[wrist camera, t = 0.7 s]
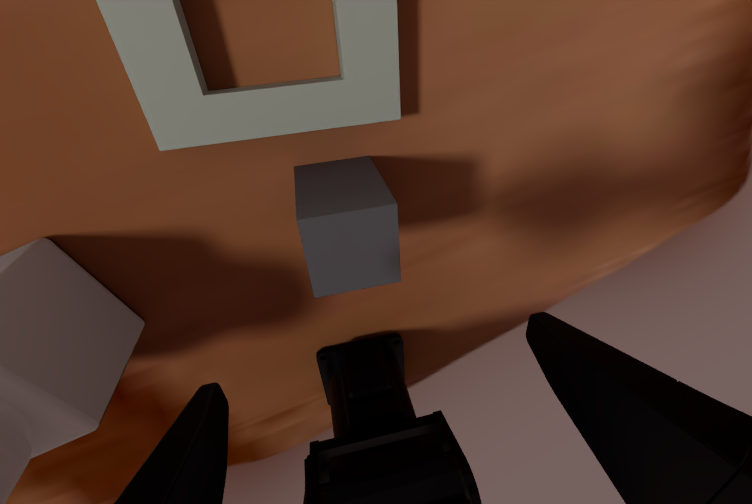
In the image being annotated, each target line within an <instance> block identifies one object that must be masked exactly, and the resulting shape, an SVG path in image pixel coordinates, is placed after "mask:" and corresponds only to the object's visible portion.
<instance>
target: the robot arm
mask: <svg viewBox="0 0 752 504" xmlns="http://www.w3.org/2000/svg"><path fill="white" fill-rule="evenodd" d="M526 338H527V341H528V344H529V346H530V347H531V349H532V351H533V353H534V355H535V357H536V359H537V361H538V363H539V365H540V367H541V369H542V371H543V373H544V375H545V377H546V379H547V381H548V383H549V384H550V386H551V388H552V390H553V391H554V393H555V394H556V396H557V398H558V399H559V401H560V402H561V404H562V405H563V407H564V408H565V410H566V412H567V413H568V415H569V416H570V418H571V419H572V421H573V422H574V424H575V426H576V427H577V428H578V430H579V432H580V433H581V435H582V436H583V438H584V439H585V441H586V443H587V444H588V446H589V447H590V449H591V450H592V452H593V453H594V455H595V456H596V458H597V460H598V461H599V463H600V464H601V466H602V467H603V469H604V471H605V472H606V474H607V475H608V477H609V478H610V480H611V481H612V483H613V484H614V486H615V488H616V489H617V491H618V492H619V494H620V495H621V497H622V498H623V500H624V502H625V503H626V504H752V416H750V415H748V414H745V413H743V412H741V411H739V410H737V409H735V408H732V407H730V406H728V405H726V404H724V403H722V402H720V401H718V400H716V399H714V398H711V397H709V396H708V395H706V394H704V393H701V392H699V391H698V390H695V389H694V388H692V387H689V386H688V385H686V384H684V383H682V382H680V381H678V382H677V380H676V379H674V378H672V377H670V376H668V375H666V374H664V373H662V372H660V371H658V370H657V369H654V368H653V367H651V366H649V365H647V364H645V363H643V362H641V361H639V360H637V359H635V358H633V357H631V356H629V355H627V354H625V353H623V352H622V351H619V350H618V349H616V348H614V347H612V346H610V345H608V344H606V343H604V342H602V341H600V340H598V339H597V338H595V337H593V336H591V335H589V334H587V333H585V332H583V331H581V330H579V329H577V328H575V327H573V326H571V325H569V324H567V323H566V322H564V321H562V320H560V319H557V318H556V317H554V316H552V315H550V314H548V313H546V312H539V313H534V314H531V315H530V317H529V321H528V326H527V330H526ZM395 340H396V341H395ZM316 357H317V363H318V367H319V370H320V374H321V378H322V382H323V386H324V390H325V394H326V398H327V402H328V404H329V405H330V406H331V414H332V423H333V432H334V438H332V439H328V440H324V441H320V442H319V441H318V440H317V441H313V442H310V455H308V456H307V458H306V459H305V460H304V461H305V494H304V502H303V504H481V499H480V495H479V492H478V488H477V485H476V482H475V479H474V476H473V473H472V471H471V468H470V466H469V464H468V461H467V459H466V457H465V455H464V453H463V452H462V450H461V448H460V446H459V444H458V442H457V440H456V438H455V436H454V435H453V433H452V431H451V429H450V427H449V425H448V423H447V421H446V419H445V417H444V415H443V414H442V412H441V411H436V412H433V414H430V415H426V416H422V417H418V418H416V415H415V412H414V409H413V405H412V402H411V399H410V396H409V393H408V390H407V387H406V384H405V376H404V354H403V340H402V337H401V335H400V334H392V335H387V336H382V337H378V338H373V339H368V340H363V341H359V342H354V343H349V344H345V345H340V346H335V347H330V348H326V349H321V350H319V351H318V352H317V353H316ZM228 419H229V405H228V401H227V399H226V397H225V395H224V393H223V391H222V389H221V387H220V385H219V384H218V383H210V384H205V385H202V386H201V387H200V388H199V389H198V390H197V391H196V393H195V394H194V396H193V397H192V398H191V400H190V401H189V402H188V404H187V405H186V406H185V408H184V409H183V410H182V412H181V413H180V415H179V416H178V417H177V419H176V420H175V421H174V423H173V424H172V425H171V427H170V428H169V429H168V431H167V432H166V434H165V435H164V436H163V438H162V439H161V440H160V442H159V443H158V444H157V446H156V447H155V448H154V450H153V451H152V453H151V454H150V455H149V457H148V458H147V459H146V461H145V462H144V463H143V465H142V466H141V467H140V469H139V470H138V472H137V473H136V474H135V476H134V477H133V478H132V480H131V481H130V482H129V484H128V485H127V486H126V488H125V489H124V491H123V492H122V493H121V495H120V496H119V497H118V499H117V500H116V501H115V503H114V504H222V501H223V494H224V487H225V479H226V471H227V455H228Z"/></svg>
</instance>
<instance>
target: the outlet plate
mask: <svg viewBox="0 0 752 504" xmlns="http://www.w3.org/2000/svg"><path fill="white" fill-rule="evenodd" d="M96 1H97V3H98V6H99V8H100V10H101V13H102V15H103V17H104V20H105V22H106V25H107V27H108V29H109V32H110V34H111V36H112V39H113V41H114V43H115V46H116V48H117V51H118V53H119V55H120V58H121V60H122V62H123V65H124V67H125V69H126V72H127V74H128V77H129V79H130V81H131V84H132V86H133V88H134V91H135V93H136V95H137V98H138V100H139V103H140V105H141V107H142V110H143V112H144V114H145V117H146V119H147V121H148V124H149V126H150V129H151V131H152V133H153V136H154V138H155V140H156V143H157V145H158V147H159V150H160V151H163V150H171V149H178V148H186V147H193V146H201V145H209V144H216V143H224V142H231V141H239V140H247V139H254V138H262V137H269V136H277V135H284V134H292V133H300V132H307V131H315V130H322V129H330V128H338V127H345V126H353V125H360V124H368V123H375V122H383V121H391V120H398V119H401V110H400V80H399V50H398V19H397V0H332V3H333V12H334V20H335V29H336V37H337V46H338V54H339V63H340V71H341V76H335V77H326V78H317V79H308V80H299V81H291V82H282V83H273V84H264V85H255V86H246V87H237V88H229V89H220V90H211V91H208V89H207V85H206V82H205V79H204V76H203V73H202V70H201V66H200V63H199V60H198V57H197V54H196V51H195V47H194V44H193V41H192V38H191V35H190V32H189V28H188V25H187V22H186V19H185V16H184V12H183V9H182V6H181V3H180V0H96Z"/></svg>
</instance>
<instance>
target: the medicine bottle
mask: <svg viewBox="0 0 752 504" xmlns="http://www.w3.org/2000/svg"><path fill="white" fill-rule="evenodd" d="M144 325H145V322H144V321H143V320H142V319H141V318H140V317H139V316H138V315H136V314H135V313H134V312H133V311H132V310H131V309H129V308H128V307H127V306H126V305H125V304H124V303H122V302H121V301H120V300H119V299H118V298H117V297H115V296H114V295H113V294H112V293H111V292H110V291H109V290H107V289H106V288H105V287H104V286H103V285H102V284H100V283H99V282H98V281H97V280H96V279H95V278H93V277H92V276H91V275H90V274H89V273H88V272H86V271H85V270H84V269H83V268H82V267H81V266H80V265H78V264H77V263H76V262H75V261H74V260H73V259H71V258H70V257H69V256H68V255H67V254H66V253H64V252H63V251H62V250H61V249H60V248H59V247H57V246H56V245H55V244H54V243H53V242H52V241H50V240H49V239H46V238H40V239H37V240H35V241H33V242H30V243H28V244H26V245H24V246H22V247H20V248H17V249H15V250H13V251H11V252H9V253H6V254H4V255H2V256H0V504H5V502H6V500H7V499H8V497H9V495H10V494H11V492H12V490H13V488H14V487H15V485H16V483H17V481H18V480H19V478H20V476H21V475H22V473H23V471H24V469H25V468H26V466H27V464H28V462H29V460H30V459H31V458H33V457H35V456H38V455H40V454H42V453H44V452H47V451H49V450H51V449H54V448H56V447H58V446H61V445H63V444H65V443H67V442H70V441H72V440H74V439H77V438H79V437H81V436H84V435H86V434H88V433H90V432H93V431H94V430H96V429H97V427H98V426H99V425H100V422H101V420H102V418H103V416H104V414H105V411H106V409H107V407H108V405H109V403H110V401H111V398H112V396H113V394H114V392H115V390H116V387H117V385H118V383H119V381H120V379H121V376H122V374H123V372H124V370H125V368H126V366H127V363H128V361H129V359H130V357H131V355H132V352H133V350H134V348H135V346H136V344H137V342H138V339H139V337H140V335H141V333H142V331H143V328H144Z"/></svg>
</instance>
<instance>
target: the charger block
mask: <svg viewBox="0 0 752 504" xmlns="http://www.w3.org/2000/svg"><path fill="white" fill-rule="evenodd" d="M294 177H295V195H296V214H297V223H298V228H299V232H300V236H301V241H302V245H303V249H304V254H305V258H306V263H307V267H308V271H309V276H310V280H311V285H312V289H313V293H314V298H318V297H323V296H328V295H333V294H338V293H343V292H349V291H354V290H359V289H364V288H369V287H374V286H380V285H385V284H390V283H395V282H400V281H401V273H400V251H399V228H398V205H397V202H396V200H395V199H394V197H393V195H392V194H391V192H390V190H389V189H388V187H387V185H386V184H385V182H384V180H383V179H382V177H381V175H380V173H379V172H378V170H377V168H376V167H375V165H374V163H373V162H372V160H371V158H370V157H369V156H364V157H357V158H350V159H343V160H336V161H329V162H322V163H315V164H308V165H301V166H294Z"/></svg>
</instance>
